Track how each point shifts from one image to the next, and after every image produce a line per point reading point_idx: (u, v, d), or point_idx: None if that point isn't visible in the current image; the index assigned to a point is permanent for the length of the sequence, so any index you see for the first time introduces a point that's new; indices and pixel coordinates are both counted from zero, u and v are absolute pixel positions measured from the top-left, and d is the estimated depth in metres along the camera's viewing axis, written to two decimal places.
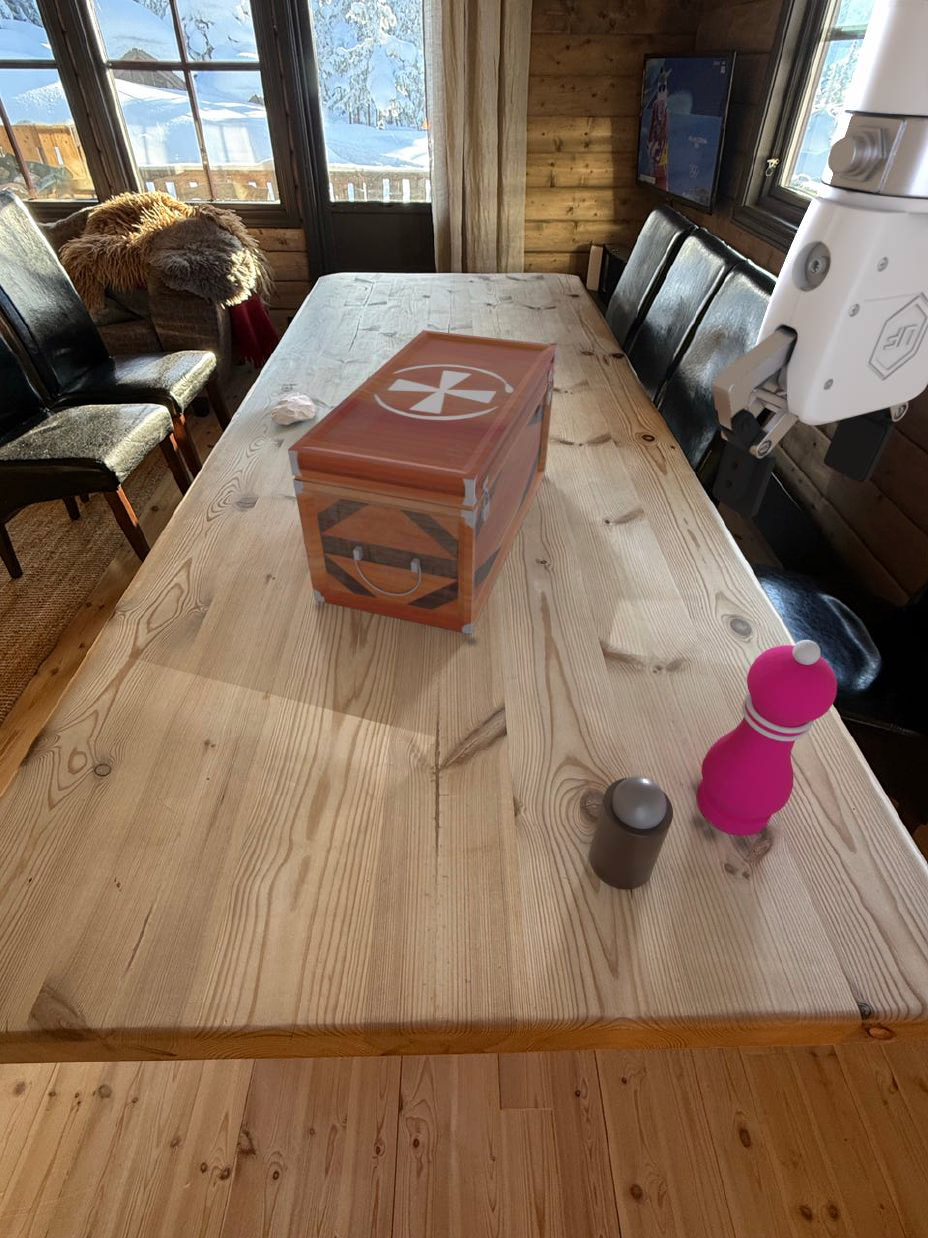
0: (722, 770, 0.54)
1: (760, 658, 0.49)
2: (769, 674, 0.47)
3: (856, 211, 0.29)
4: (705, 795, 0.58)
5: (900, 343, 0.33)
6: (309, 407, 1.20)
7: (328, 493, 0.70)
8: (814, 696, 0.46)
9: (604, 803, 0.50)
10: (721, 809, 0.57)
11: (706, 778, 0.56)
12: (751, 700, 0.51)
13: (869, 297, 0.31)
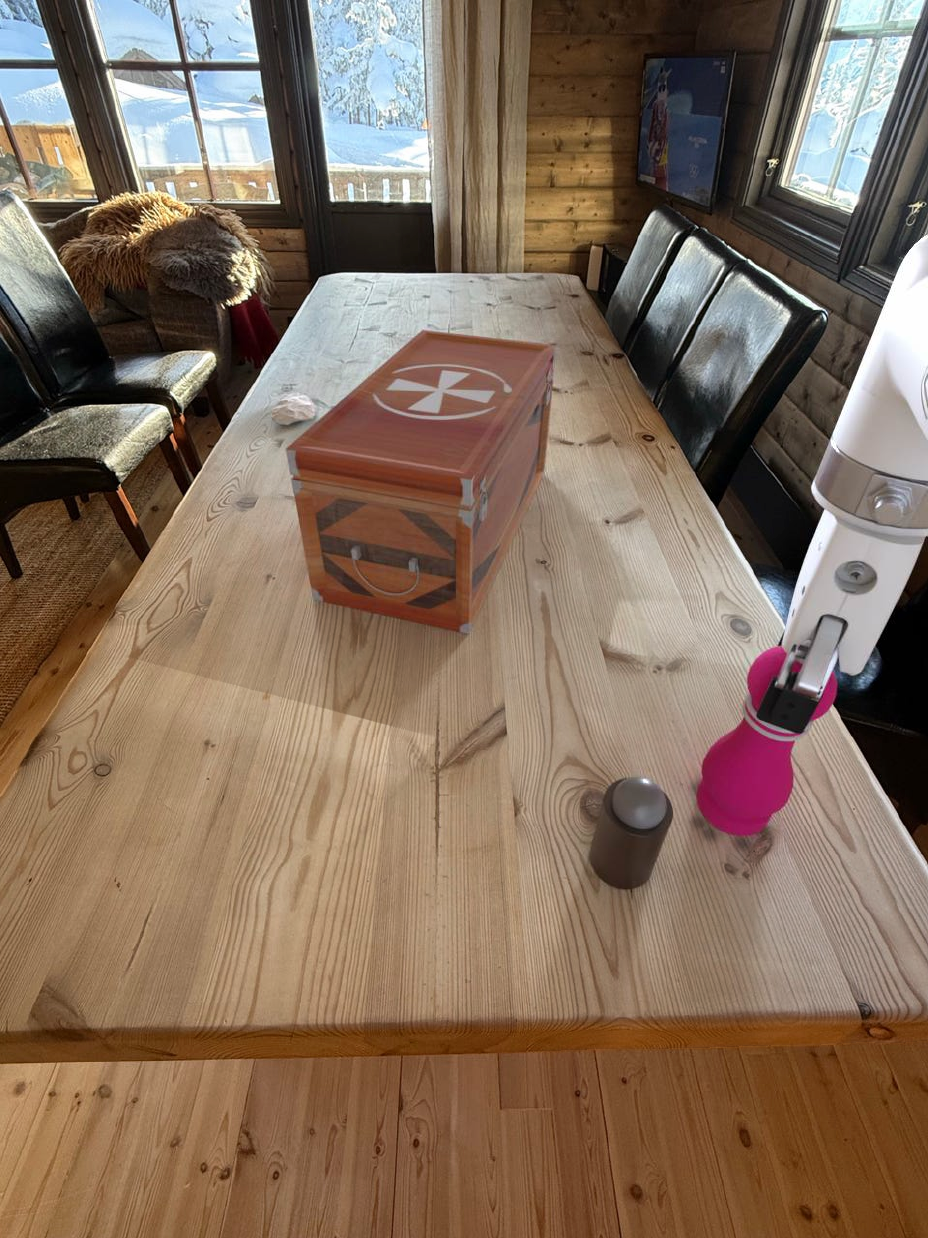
0: (722, 770, 0.54)
1: (760, 658, 0.49)
2: (769, 674, 0.47)
3: (896, 545, 0.35)
4: (706, 795, 0.58)
5: None
6: (309, 407, 1.20)
7: (326, 492, 0.70)
8: None
9: (604, 803, 0.50)
10: (721, 809, 0.57)
11: (706, 778, 0.56)
12: (751, 700, 0.51)
13: None
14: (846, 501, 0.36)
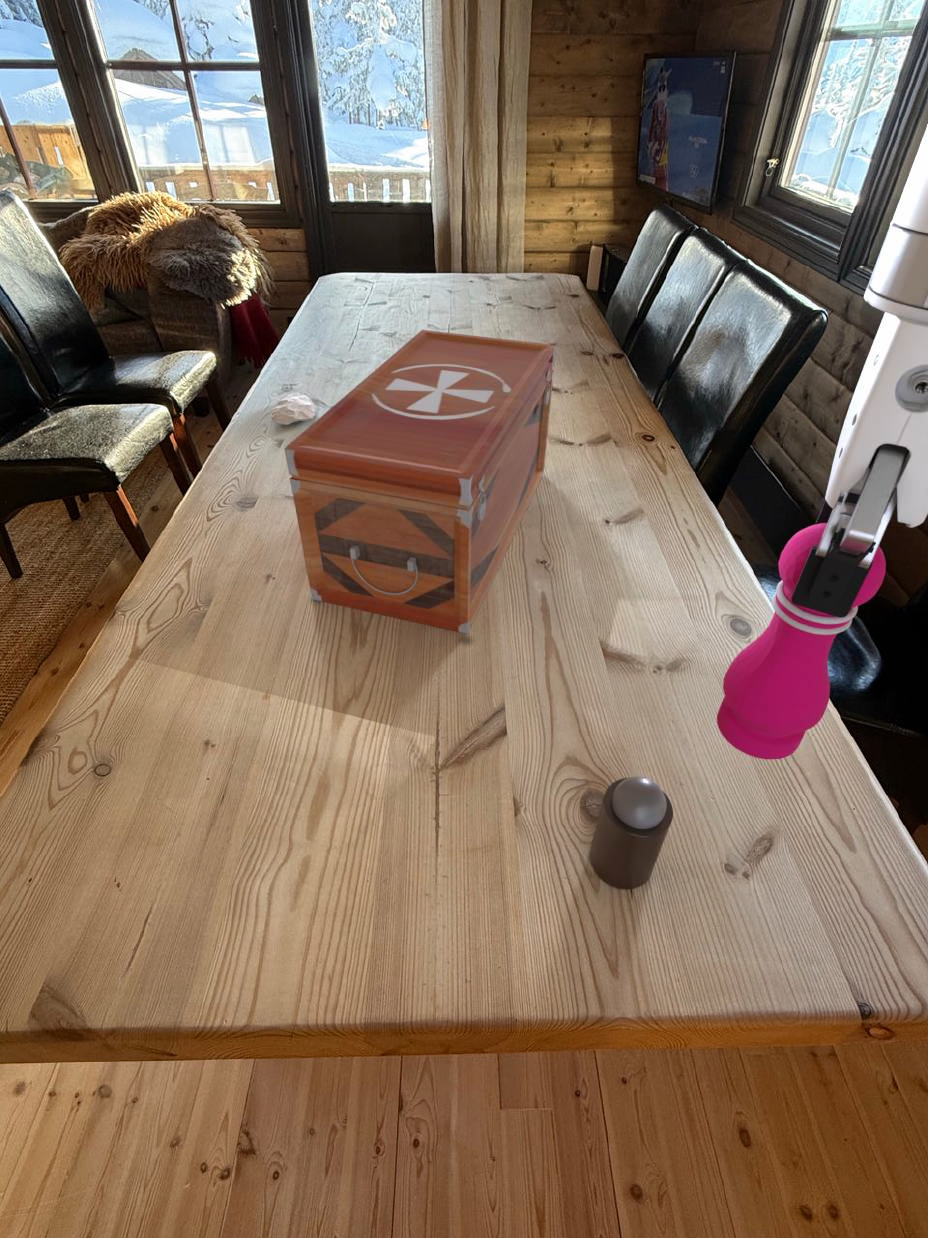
0: (748, 679, 0.47)
1: (795, 537, 0.42)
2: (806, 550, 0.41)
3: None
4: (728, 715, 0.51)
5: None
6: (309, 407, 1.20)
7: (325, 492, 0.70)
8: None
9: (604, 803, 0.50)
10: (746, 729, 0.50)
11: (728, 692, 0.49)
12: (783, 591, 0.44)
13: None
14: (911, 292, 0.30)
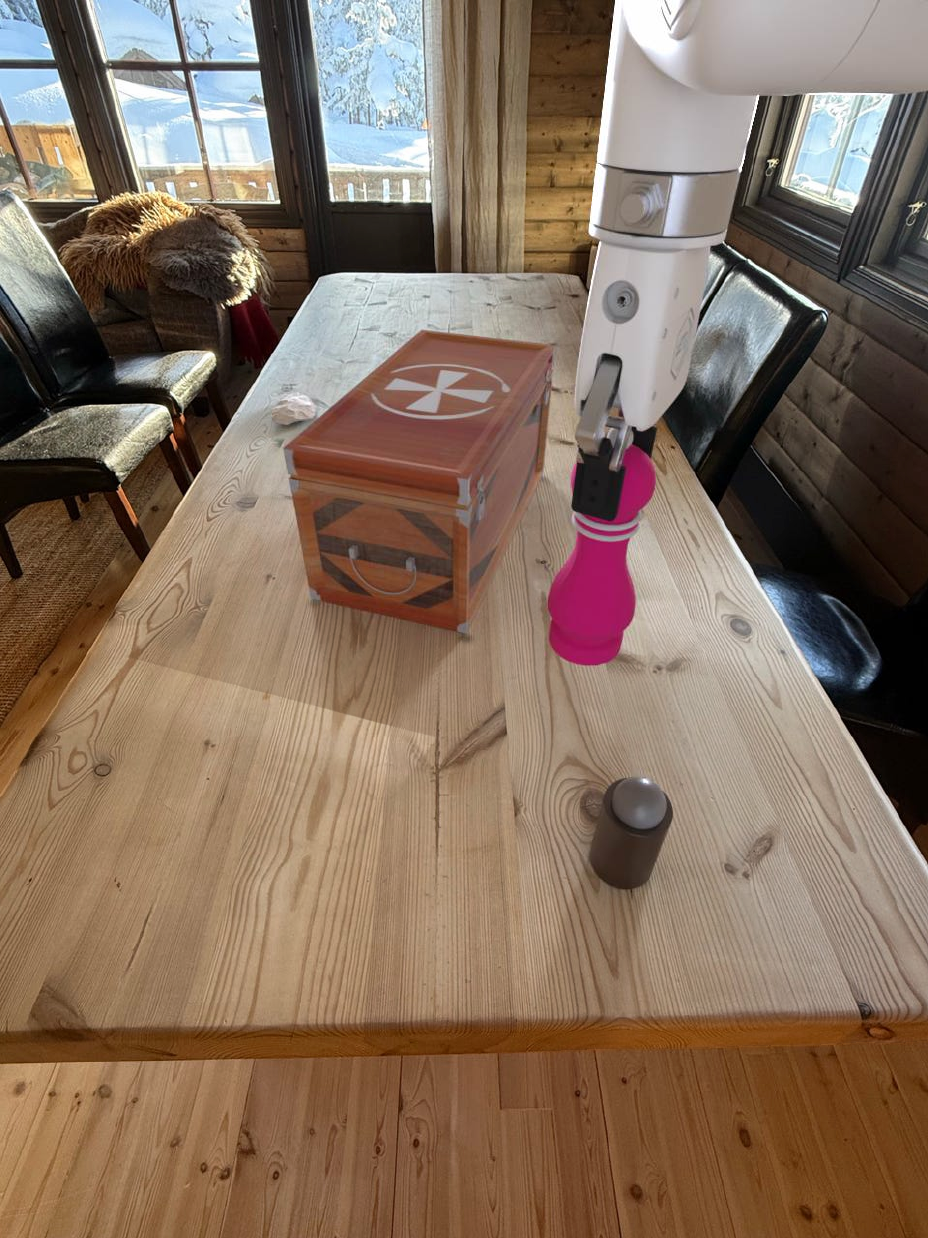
0: (560, 589, 0.53)
1: None
2: None
3: (651, 253, 0.34)
4: (554, 627, 0.56)
5: (682, 349, 0.40)
6: (309, 407, 1.20)
7: (324, 492, 0.70)
8: (625, 479, 0.44)
9: (604, 803, 0.50)
10: (566, 637, 0.55)
11: (548, 604, 0.54)
12: None
13: (671, 320, 0.36)
14: (606, 217, 0.35)
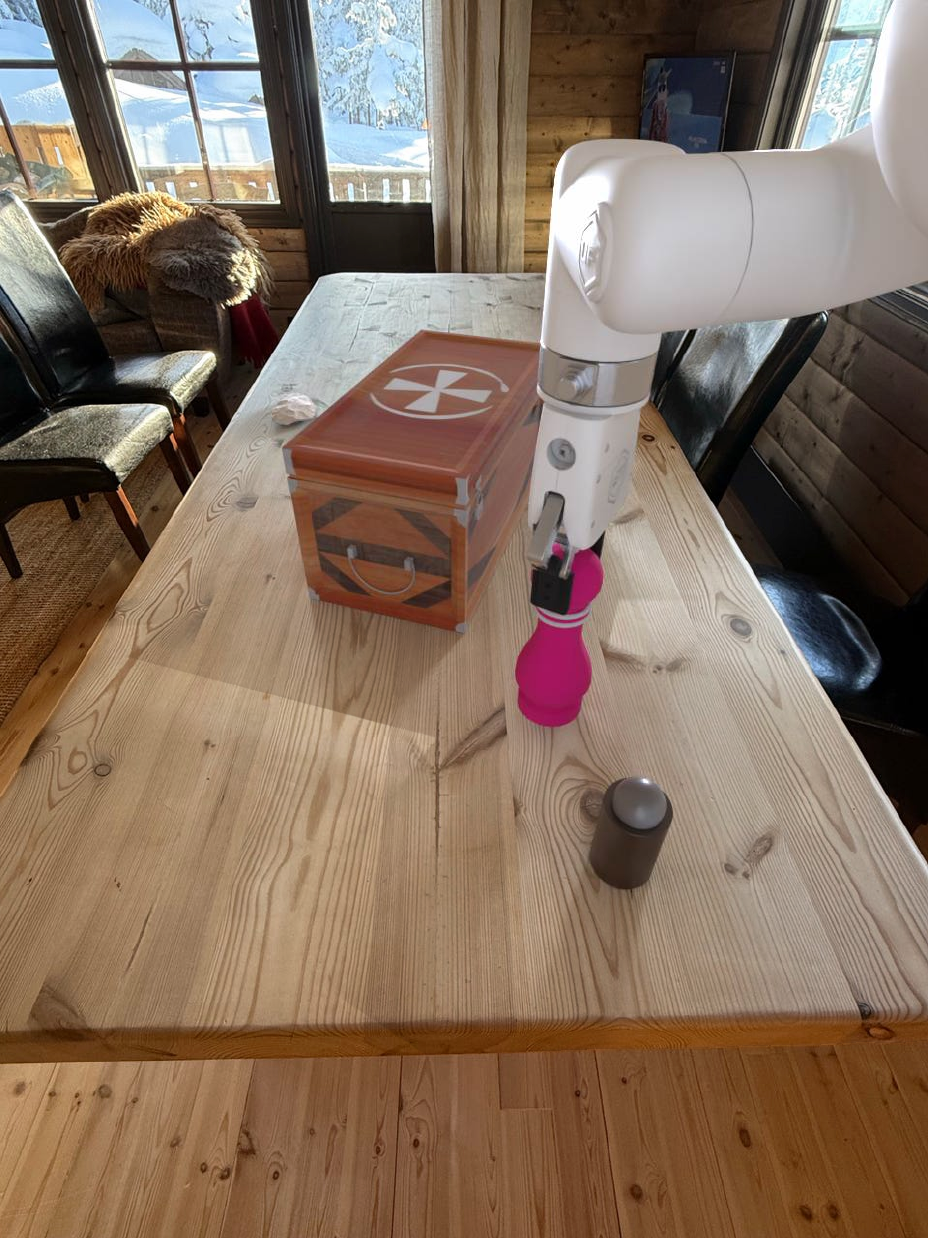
0: (524, 663, 0.60)
1: None
2: None
3: (584, 420, 0.41)
4: (521, 692, 0.64)
5: (618, 479, 0.47)
6: (309, 407, 1.20)
7: (322, 491, 0.70)
8: (575, 580, 0.52)
9: (604, 803, 0.50)
10: (531, 702, 0.62)
11: (515, 673, 0.62)
12: None
13: (604, 468, 0.43)
14: (549, 386, 0.42)
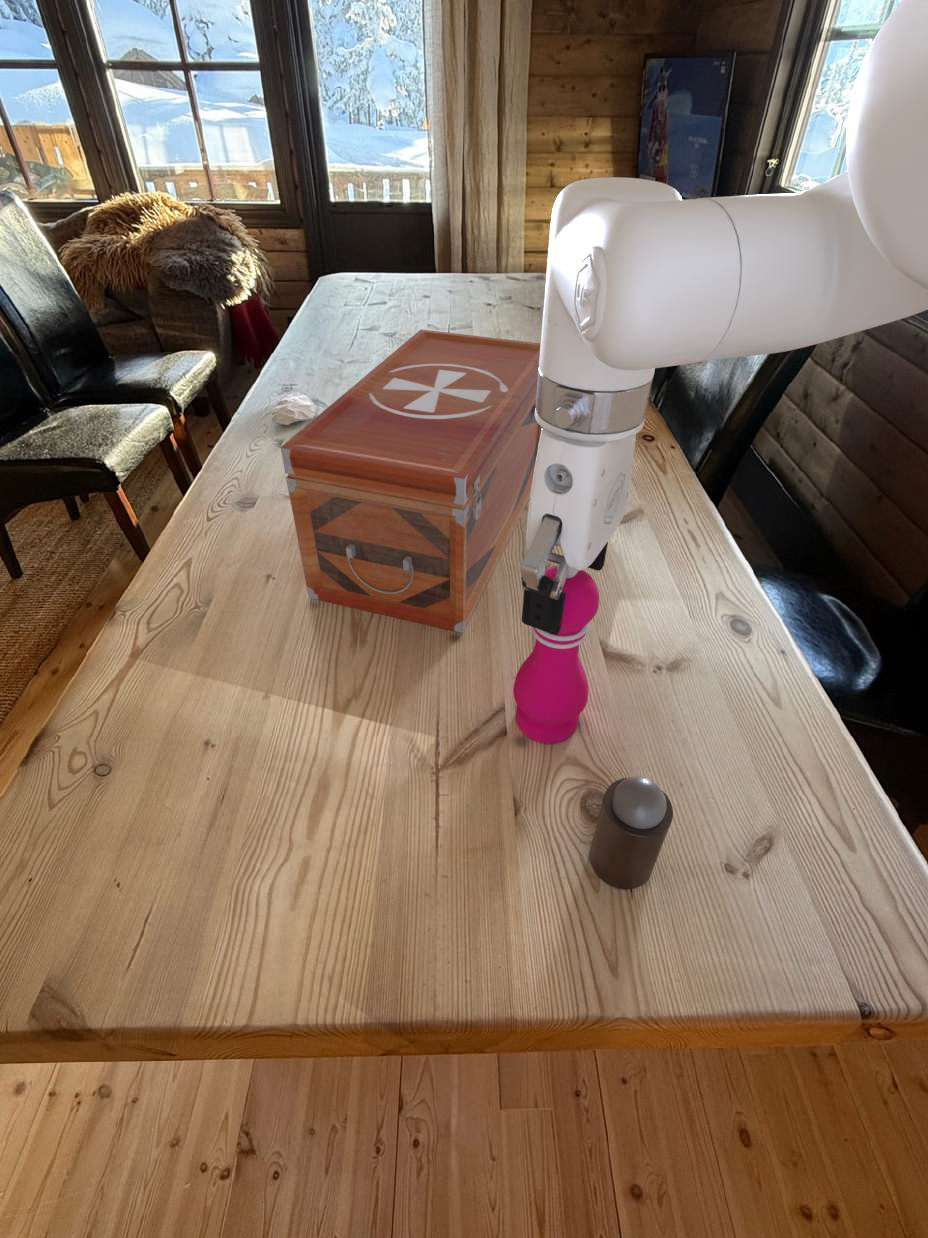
0: (522, 681, 0.61)
1: None
2: None
3: (580, 447, 0.42)
4: (519, 709, 0.65)
5: (615, 501, 0.48)
6: (309, 407, 1.20)
7: (321, 491, 0.70)
8: (571, 604, 0.53)
9: (604, 803, 0.50)
10: (529, 719, 0.64)
11: (514, 691, 0.63)
12: None
13: (600, 492, 0.45)
14: (546, 413, 0.43)
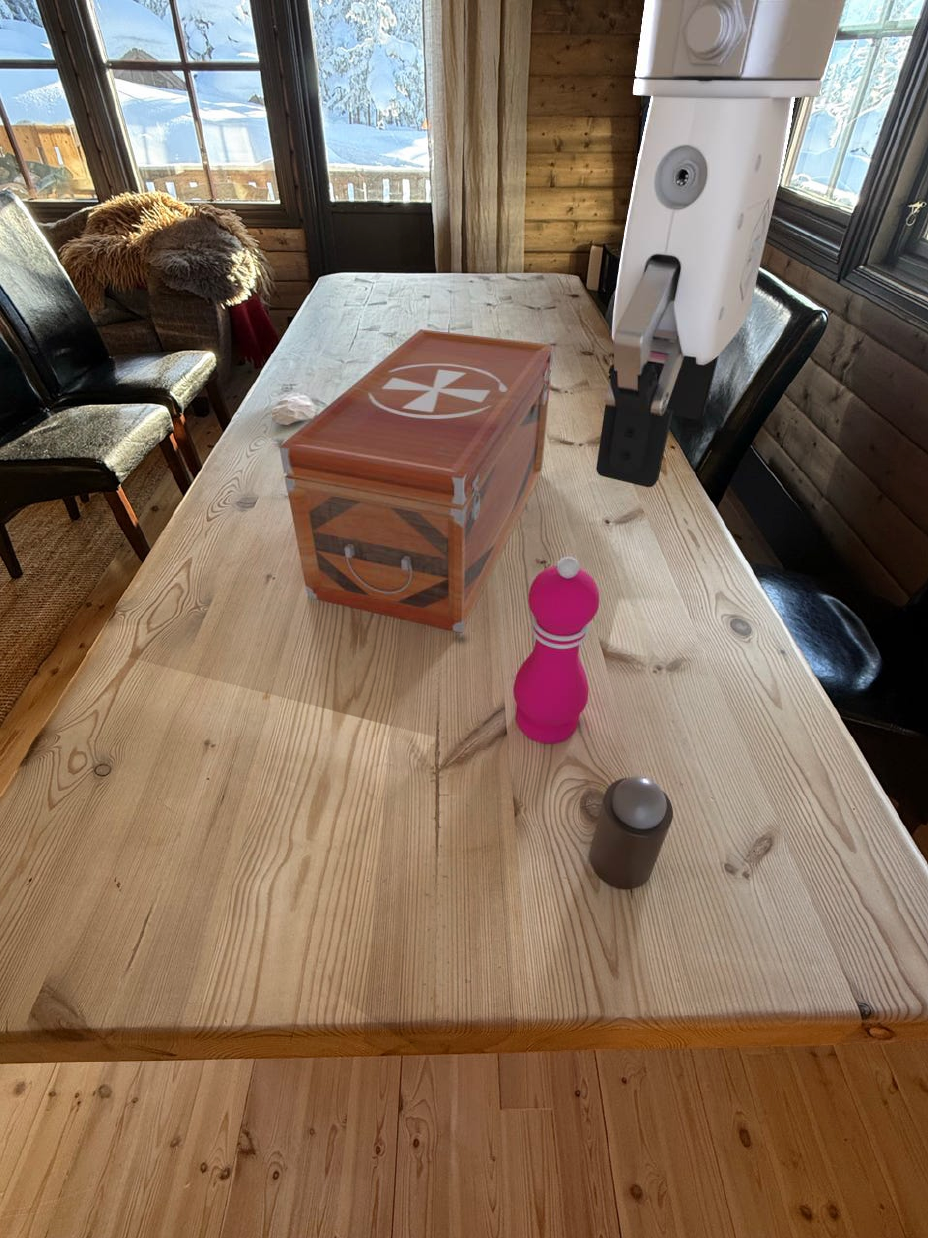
0: (522, 681, 0.61)
1: (537, 576, 0.56)
2: (538, 587, 0.55)
3: (727, 100, 0.24)
4: (519, 709, 0.65)
5: (753, 257, 0.30)
6: (309, 407, 1.20)
7: (320, 491, 0.70)
8: (571, 604, 0.53)
9: (604, 803, 0.50)
10: (529, 719, 0.64)
11: (514, 691, 0.63)
12: None
13: (749, 204, 0.27)
14: (662, 60, 0.26)
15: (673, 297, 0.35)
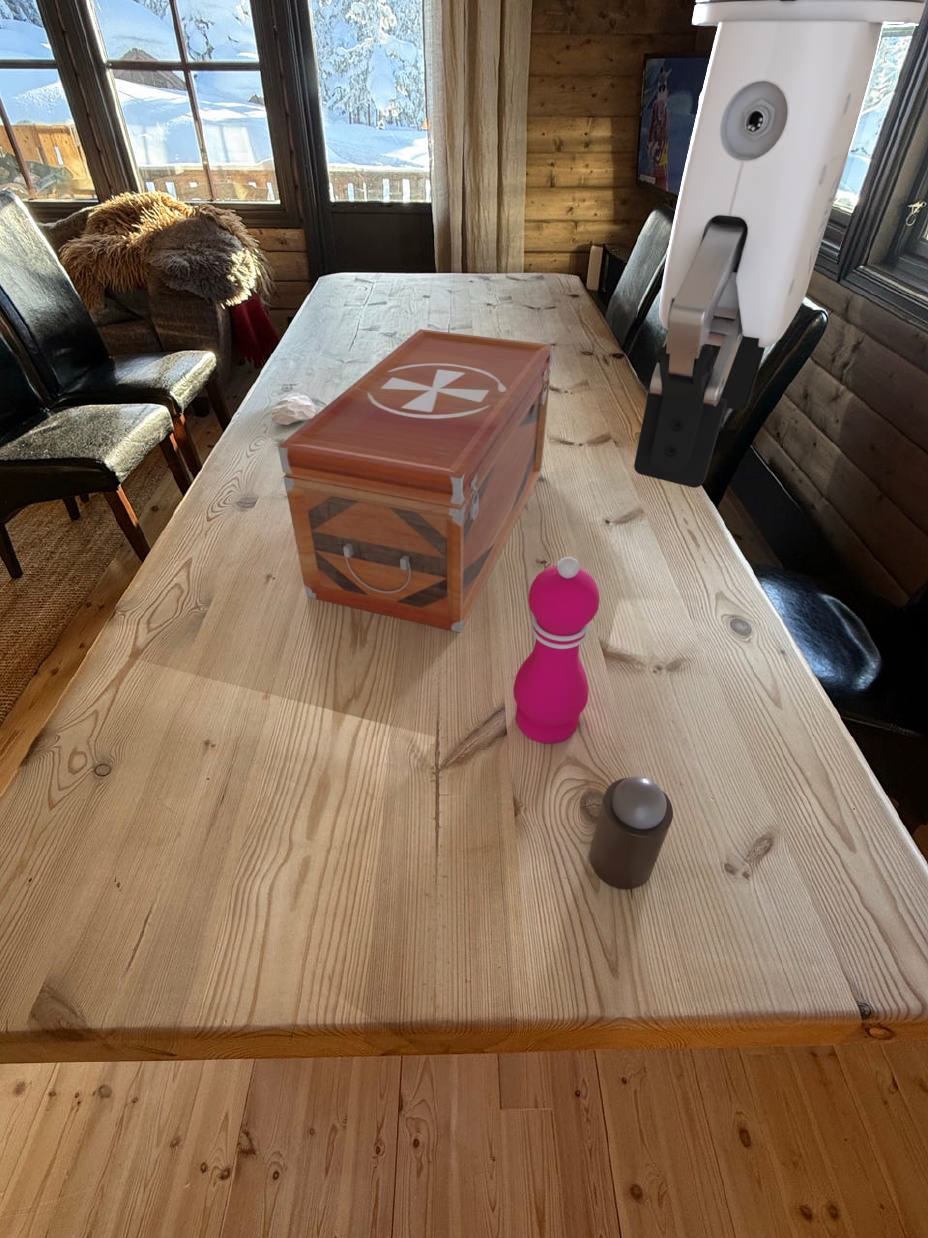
0: (522, 681, 0.61)
1: (537, 576, 0.56)
2: (538, 587, 0.55)
3: (816, 23, 0.20)
4: (519, 709, 0.65)
5: (825, 223, 0.26)
6: (309, 407, 1.20)
7: (318, 490, 0.70)
8: (571, 604, 0.53)
9: (604, 803, 0.50)
10: (529, 719, 0.64)
11: (514, 691, 0.63)
12: None
13: (832, 155, 0.22)
14: None
15: None
